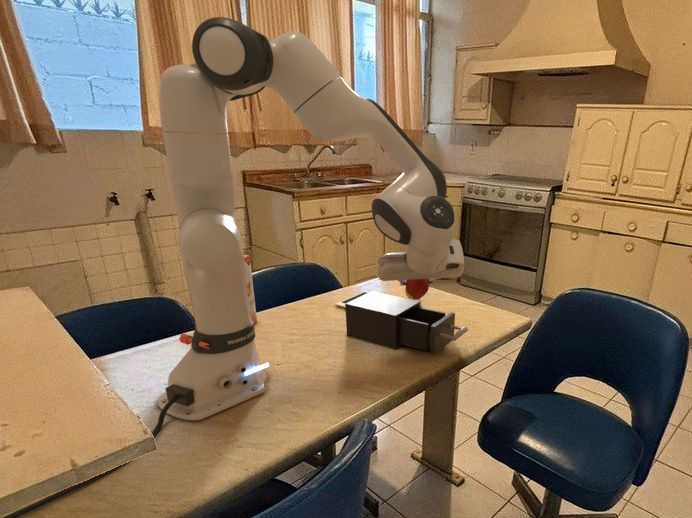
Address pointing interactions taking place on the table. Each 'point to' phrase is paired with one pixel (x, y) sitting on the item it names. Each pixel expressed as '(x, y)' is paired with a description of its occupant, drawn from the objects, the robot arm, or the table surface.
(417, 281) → the onion
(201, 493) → the table surface
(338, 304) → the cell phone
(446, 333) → the drawer
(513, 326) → the table surface
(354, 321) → the cabinet
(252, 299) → the cracker box
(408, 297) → the lemon
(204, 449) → the table surface
